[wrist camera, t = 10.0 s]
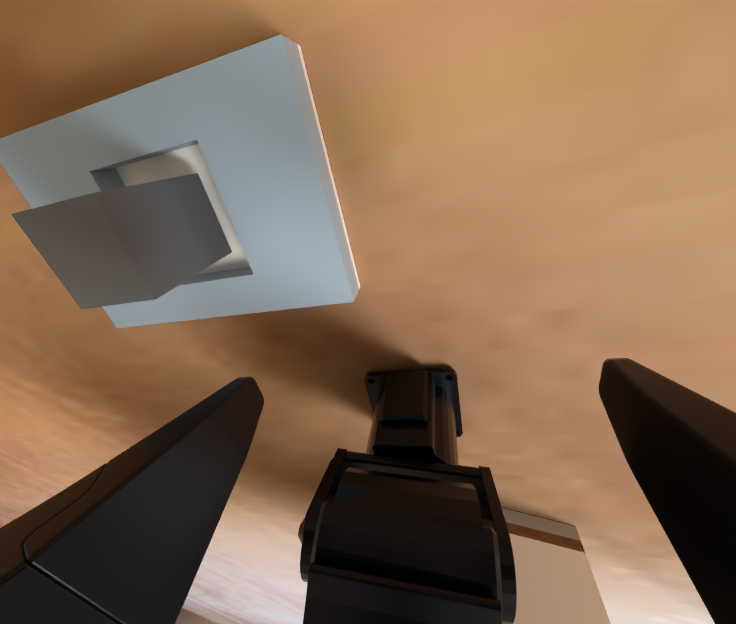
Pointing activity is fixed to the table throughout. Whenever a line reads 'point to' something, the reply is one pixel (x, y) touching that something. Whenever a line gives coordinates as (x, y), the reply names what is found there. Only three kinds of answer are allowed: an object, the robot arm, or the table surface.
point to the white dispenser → (552, 573)
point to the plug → (128, 240)
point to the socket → (212, 178)
